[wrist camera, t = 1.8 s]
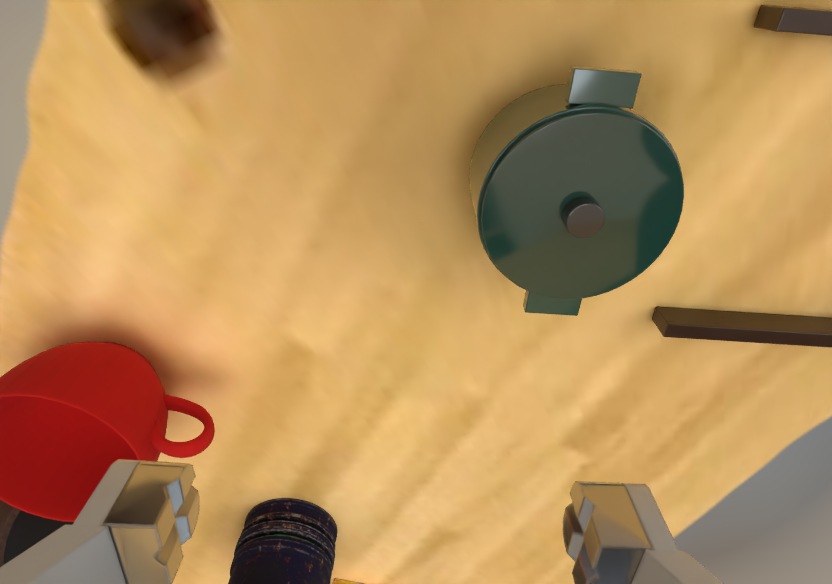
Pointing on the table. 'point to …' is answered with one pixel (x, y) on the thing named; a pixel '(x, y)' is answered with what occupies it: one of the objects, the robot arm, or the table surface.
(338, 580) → the beverage box
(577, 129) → the pot
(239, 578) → the storage jar
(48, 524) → the alarm clock
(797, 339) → the frame
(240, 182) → the table surface
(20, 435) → the ceramic cup
